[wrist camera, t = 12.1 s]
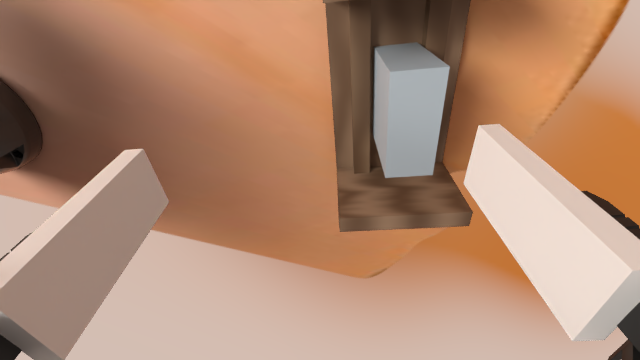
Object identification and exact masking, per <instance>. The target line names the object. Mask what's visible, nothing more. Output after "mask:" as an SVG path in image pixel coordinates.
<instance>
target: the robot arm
mask: <svg viewBox="0 0 640 360" xmlns="http://www.w3.org/2000/svg"><path fill="white" fill-rule="evenodd" d="M41 146H42V137H41V132H40V129H39V126H38V124H37V121H36V119H35V118H34V116H33V114H32V113H31V111H30V110H29V108H28V107H27V106H26V105H25V103H24V102H23V101H22V100H21V99H20V98H19V97H18V96H17V95H16V93H14V92H13V91H12V90H11V89H10V88H9V87H8V86H7V85H5V84H4V83H3V82H2V81H0V174H2V173H6V172H9V171H13V170H15V169H18V168H20V167H22V166H23V165H25V164H26V163H28V162H30V161H31V160H33V159H34V158H35V157H36V156H37V155H38V154H39V152H40V150H41ZM464 185H465V187H466V188H467V190H468V191H469V193H470V194H471V196H472V197H473V198H474V200H475V201H476V203H477V204H478V206H479V207H480V209H481V210H482V211H483V213H484V214H485V216H486V217H487V219H488V220H489V222H490V223H491V224H492V226H493V227H494V229H495V230H496V232H497V233H498V234H499V236H500V237H501V239H502V240H503V242H504V243H505V245H506V246H507V248H508V249H509V250H510V252H511V253H512V255H513V256H514V258H515V259H516V261H517V262H518V263H519V265H520V266H521V268H522V269H523V271H524V272H525V274H526V275H527V276H528V278H529V279H530V281H531V282H532V283H533V285H534V287H535V288H536V290H537V291H538V292H539V294H540V295H541V297H542V298H543V300H544V301H545V302H546V304H547V305H548V307H549V308H550V310H551V311H552V312H553V314H554V315H555V317H556V318H557V320H558V321H559V323H560V324H561V326H562V327H563V329H564V330H565V331H566V333H567V334H568V336H569V337H570V339H571V340H572V341H590V340H605V339H606V338H607V337H608V336H609V335H610V334H611V333H612V332H613V331H614V330H615V328H617V327H618V328H619V329H620V330H621V331H622V332H623V333H624V335H625V336H626V337H627V338H628V340H627V341H626V342H625V343H624V344H623V345H622V346H621V347H620V348H618V349H617V350H616V351H615V352H614V353H613V354H612V355H611V356H610V357H609V359H608V360H621V359H622V360H640V229H639V225H637V224H636V223H635V222H633V221H632V220H631V219H630V218H628V217H627V218H626V217H625V214H623V213H622V212H620V211H619V210H618V209H617V208H616V207H614V206H613V205H612V204H610V203H609V202H608V201H606V200H604V199H602V198H600V197H598V196H596V195H594V194H592V193H589V192H588V191H580V190H579V189H578V188H576V187H575V186H574V185H573V184H571V183H570V182H569V181H568V180H567V179H565V178H564V177H563V176H562V175H560V174H559V173H558V172H557V171H556V170H554V169H553V168H552V167H551V166H549V165H548V164H547V163H546V162H545V161H544V160H542V159H541V158H540V157H539V156H537V155H536V154H535V153H534V152H533V151H531V150H530V149H529V148H528V147H527V146H525V145H524V144H523V143H522V142H521V141H519V140H518V139H517V138H516V137H514V136H513V135H512V134H511V133H510V132H508V131H507V130H506V129H505V128H504V127H502V126H501V125H500V124H490V125H479V126H478V129H477V133H476V137H475V141H474V145H473V149H472V153H471V156H470V160H469V164H468V168H467V172H466V176H465V180H464ZM168 203H169V200H168V198H167V196H166V194H165V192H164V190H163V188H162V186H161V184H160V182H159V180H158V178H157V176H156V173H155V171H154V169H153V167H152V165H151V163H150V161H149V159H148V157H147V155H146V153H145V151H144V149H131V150H124V151H123V152H122V153H121V154H120V155H119V156H118V157H116V158H115V159H114V160H113V161H112V162H111V163H110V164H109V165H107V166H106V167H105V168H104V169H103V170H102V171H101V172H100V173H99V174H97V175H96V176H95V177H94V178H93V179H92V180H91V181H90V182H88V183H87V184H86V185H85V186H84V187H83V188H82V189H81V190H80V191H78V192H77V193H76V194H75V195H74V196H73V197H72V198H71V199H69V200H68V201H67V202H66V203H65V204H64V205H63V206H62V207H61V208H59V209H58V210H57V211H56V212H55V213H54V214H53V215H52V216H50V217H49V218H48V219H47V220H46V221H45V222H44V223H43V224H42V225H40V227H38V228H37V229H36V230H35V231H34V232H32V233H30V234H29V235H27V236H26V237H25V238H24V239H22V240H21V241H20V242H19V243H18V244H17V245H16V246H15V247H13V248H12V249H11V252H10V253H7V254H6V255H5V256H3V257H2V258H1V259H0V360H15V358H16V357H17V356H18V354H19V353H20V352H21V351H23V352H24V353H26V354H27V355H28V356H30V357H31V358H32V359H34V360H65V358H66V357H67V355H68V354H69V352H70V351H71V349H72V348H73V346H74V344H75V343H76V342H77V340H78V338H79V337H80V336H81V334H82V333H83V331H84V330H85V328H86V327H87V325H88V324H89V322H90V321H91V319H92V318H93V316H94V314H95V313H96V311H97V310H98V308H99V307H100V305H101V304H102V302H103V301H104V299H105V298H106V296H107V295H108V293H109V292H110V290H111V289H112V287H113V286H114V284H115V283H116V281H117V280H118V278H119V277H120V275H121V274H122V272H123V271H124V269H125V268H126V266H127V265H128V263H129V262H130V260H131V259H132V257H133V256H134V254H135V253H136V251H137V250H138V248H139V247H140V245H141V243H142V242H143V241H144V239H145V238H146V236H147V235H148V233H149V232H150V230H151V229H152V227H153V226H154V224H155V223H156V221H157V220H158V218H159V217H160V215H161V214H162V212H163V211H164V209H165V208H166V206H167V205H168Z"/></svg>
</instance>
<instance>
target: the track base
mask: <svg viewBox="0 0 640 360" xmlns="http://www.w3.org/2000/svg"><path fill="white" fill-rule="evenodd" d="M470 1H471V0H323V3H325V4H326V18H327V33H328V47H329V62H330V76H331V91H332V105H333V120H334V134H335V148H336V163H337V185H338V211H339V228H340V232H348V231H370V230H392V229H414V228H435V227H457V226H469V224H470V220H471V217H472V213H473V212H472V210H471V208H470V207H469V205H468V203H467V202H466V200H465V199H464V197H463V195H462V194H461V192H460V190H459V189H458V187H457V185H456V184H455V182H454V180H453V179H452V177H451V175H450V174H449V172H448V171H447V169H446V167H445V166H444V164H443V162H442V161H443V155H444V149H445V144H446V138H447V132H448V127H449V121H450V115H451V109H452V104H453V98H454V92H455V87H456V81H457V75H458V70H459V64H460V58H461V52H462V47H463V41H464V35H465V30H466V24H467V18H468V12H469V7H470ZM416 42H417V43H419V44H420V45H421V46H423V47H424V48H425V49H427V50H428V51H430V52H431V53H432V54H434V55H435V56H436V57H438V58H439V59H440V60H442V61H443V62H444V63H446V64H447V65H448V66H450V69H449V75H448V81H447V88H446V94H445V100H444V107H443V113H442V120H441V126H440V132H439V139H438V145H437V151H436V158H435V164H434V170H433V175H426V176H409V177H392V178H385V175H384V172H383V168H382V164H381V161H380V157H379V154H378V150H377V146H376V143H375V139H374V136H373V69H374V46H384V45H395V44H405V43H416Z"/></svg>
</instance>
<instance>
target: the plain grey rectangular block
mask: <svg viewBox="0 0 640 360" xmlns="http://www.w3.org/2000/svg"><path fill="white" fill-rule="evenodd" d="M449 69H450V66H448V65H447V64H446V63H444V62H443V61H442V60H440V59H439V58H438V57H436V56H435V55H434V54H432V53H431V52H430V51H428V50H427V49H425V48H424V47H423V46H421V45H420V44H419V43H417V42H416V43H405V44H395V45H384V46H374V69H373V136H374V139H375V143H376V146H377V150H378V154H379V157H380V161H381V164H382V168H383V172H384V175H385V178H392V177H409V176H426V175H433V170H434V164H435V158H436V151H437V145H438V139H439V132H440V126H441V120H442V113H443V107H444V100H445V94H446V88H447V81H448V75H449Z"/></svg>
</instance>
